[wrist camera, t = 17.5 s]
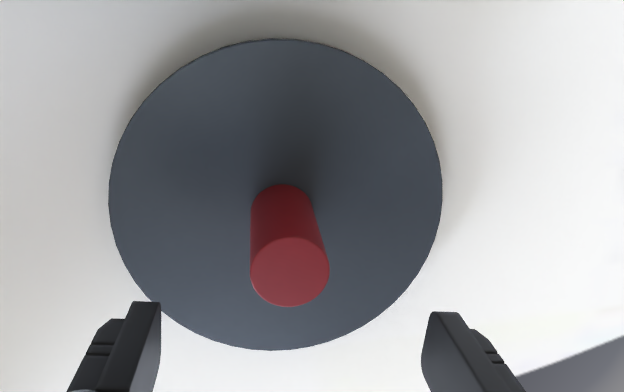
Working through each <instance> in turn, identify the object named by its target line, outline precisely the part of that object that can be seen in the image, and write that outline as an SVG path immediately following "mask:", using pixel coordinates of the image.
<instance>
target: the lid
mask: <svg viewBox="0 0 624 392" xmlns="http://www.w3.org/2000/svg"><path fill="white" fill-rule="evenodd" d="M108 205H109V214H110V222H111V228H112V231H113V235H114V239H115V242H116V246H117V248H118V250H119V253H120V255H121V257H122V260H123V262H124V264H125V266H126V268H127V269H128V271H129V273H130V274H131V276H132V278H133V279H134V281H135V282H136V284H137V285H138V286H139V287H140V289H141V290H142V291H143V292H144V294H145V295H146V296H147V297H148V298H149V299H150V300H151V301H152V302H160V304H161V311H162V312H164V313H165V314H166V315H168V316H169V317H170V318H172V319H173V320H174V321H176V322H177V323H179V324H180V325H182V326H184V327H186V328H187V329H189V330H191V331H193V332H194V333H197V334H199V335H201V336H204V337H206V338H208V339H211V340H213V341H217V342H220V343H223V344H227V345H230V346H235V347H241V348H246V349H253V350H269V351H273V350H291V349H298V348H304V347H310V346H314V345H318V344H321V343H325V342H329V341H331V340H334V339H336V338H339V337H341V336H344V335H346V334H348V333H350V332H352V331H354V330H356V329H358V328H360V327H362V326H364V325H365V324H367V323H368V322H370V321H371V320H373V319H374V318H376V317H377V316H379V315H380V314H381V313H382V312H383V311H385V310H386V309H387V308H388V307H389V306H391V305H392V304H393V303H394V302H395V301H396V300H397V299H398V298H399V297H400V296H401V294H402V293H403V292H404V291H405V290H406V289H407V288H408V286H409V285H410V284H411V282H412V281H413V280H414V278H415V277H416V276H417V274H418V273H419V271H420V269H421V267H422V266H423V264H424V262H425V260H426V259H427V257H428V254H429V252H430V250H431V247H432V245H433V242H434V240H435V236H436V233H437V229H438V225H439V221H440V215H441V207H442V176H441V169H440V162H439V158H438V155H437V151H436V148H435V144H434V141H433V139H432V137H431V134H430V132H429V130H428V128H427V126H426V123H425V122H424V120H423V118H422V117H421V115H420V114H419V112H418V111H417V109H416V107H415V106H414V104H413V103H412V102H411V101H410V100H409V98H408V97H407V96H406V95H405V94H404V93H403V91H402V90H401V89H400V88H399V87H398V86H397V85H396V84H394V83H393V82H392V81H391V80H390V79H389V78H388V77H386V76H385V75H384V74H383V73H382V72H380V71H379V70H377V69H375V68H374V67H372V66H371V65H369V64H368V63H366V62H365V61H363V60H361V59H359V58H357V57H355V56H352V55H350V54H348V53H346V52H344V51H342V50H339V49H336V48H333V47H329V46H326V45H323V44H320V43H315V42H309V41H303V40H297V39H263V40H254V41H246V42H242V43H238V44H234V45H230V46H226V47H223V48H220V49H218V50H215V51H213V52H210V53H208V54H205V55H203V56H201V57H199V58H197V59H195V60H194V61H192V62H190V63H188V64H187V65H185V66H183V67H182V68H180V69H179V70H177V71H176V72H175V73H174V74H172V75H171V76H170V77H168V78H167V79H166V80H165V81H163V82H162V83H161V84H160V85H159V86H158V87H157V88H156V89H155V90H154V91H153V92H152V93H151V94H150V95H149V96H148V97H147V98H146V99H145V100H144V101H143V103H142V104H141V106H140V107H139V108H138V110H137V111H136V113H135V114H134V116H133V117H132V118H131V120H130V122H129V123H128V125H127V127H126V129H125V131H124V133H123V135H122V137H121V139H120V142H119V144H118V147H117V150H116V153H115V156H114V159H113V163H112V169H111V174H110V180H109V200H108Z"/></svg>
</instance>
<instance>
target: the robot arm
mask: <svg viewBox="0 0 624 392" xmlns="http://www.w3.org/2000/svg"><path fill="white" fill-rule="evenodd" d="M160 355H161V304H160V302H141V301H133V302H132V304H131V306H130V309H129V311H128V313H127V316H126V318H125V319H110V320H109V321H108V322H107V323H105V324H104V325H103V326H102V327H100V328H99V329H98V330H97V332H96V334H95V336H94V338H93V340H92V342H91V345H90V346H89V348H88V350H87V352H86V356H84V358H83V360H82V362H81V364H80V366H79V368H78V370H77V372H76V374H75V376H74V378H73V380H72V382H71V384H70V386H69V388H68V390H67V392H152V391H153V388H154V384H155V380H156V377H157V373H158V369H159V364H160ZM421 367H422V372H423V375H424V378H425V380H426V382H427V384H428V386H429V388H430V390H431V392H526V391H525V390H524V389H523V387H522V386H521V384H520V383H519V382H518V380H517V379H516V377H515V376H514V375H513V373H512V372H511V370H510V369H509V368H508V366H507V365H506V364H504V361H503V359H502V358H501V356H500V355H499V354H497V351H496V349H495V348H494V347H493V345H492V344H491V342H490V341H489V340H488V339H487V338H486V337H484V336H483V335H482V334H480V333H479V332H478V331H476V330H475V329H469V328H468V326H467V325H466V323H465V322H464V320H463V319H462V317H461V316H460V315H459V313H457V312H432V313H431V315H430V317H429V321H428V326H427V330H426V335H425V340H424V345H423V349H422V354H421Z"/></svg>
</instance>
